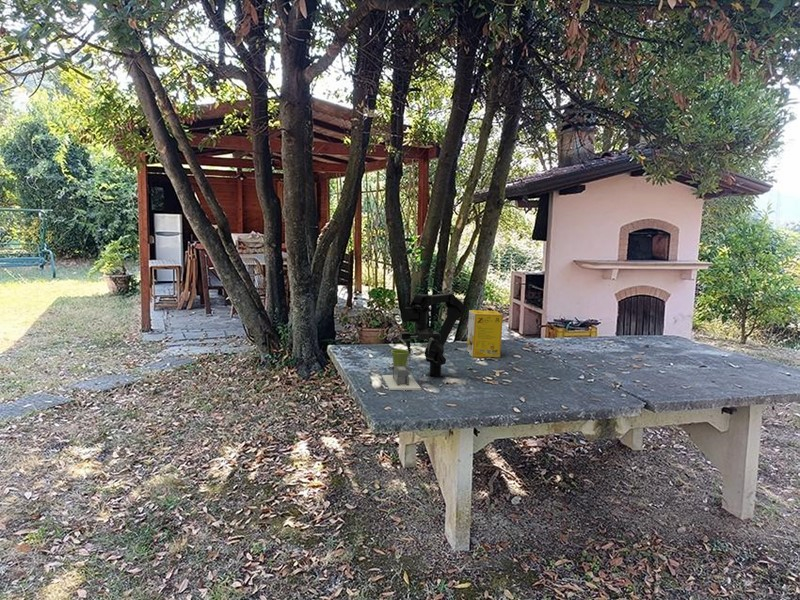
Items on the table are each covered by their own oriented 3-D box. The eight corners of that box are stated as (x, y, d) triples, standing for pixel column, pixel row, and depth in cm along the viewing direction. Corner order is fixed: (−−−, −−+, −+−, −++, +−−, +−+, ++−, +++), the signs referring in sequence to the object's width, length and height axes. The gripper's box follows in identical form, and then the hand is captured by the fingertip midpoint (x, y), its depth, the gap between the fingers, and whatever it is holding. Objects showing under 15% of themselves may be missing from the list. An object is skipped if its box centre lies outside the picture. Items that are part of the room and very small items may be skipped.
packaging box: (466, 351, 319) (469, 309, 316) (493, 351, 320) (496, 310, 317) (471, 357, 303) (474, 313, 300) (500, 358, 304) (502, 315, 301)
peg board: (381, 377, 251) (382, 367, 251) (410, 376, 254) (410, 367, 253) (389, 390, 230) (390, 380, 229) (421, 390, 232) (421, 380, 232)
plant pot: (386, 367, 271) (387, 350, 270) (401, 365, 277) (402, 348, 275) (397, 371, 263) (398, 354, 262) (412, 369, 269) (413, 352, 268)
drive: (393, 378, 245) (394, 365, 245) (404, 378, 246) (404, 365, 246) (397, 384, 237) (397, 370, 236) (408, 384, 238) (408, 370, 237)
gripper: (404, 323, 239) (403, 357, 240) (444, 324, 242) (442, 357, 244) (400, 319, 249) (398, 352, 251) (438, 320, 253) (436, 352, 255)
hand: (419, 353), depth 250 cm, fingers open, 9 cm apart
